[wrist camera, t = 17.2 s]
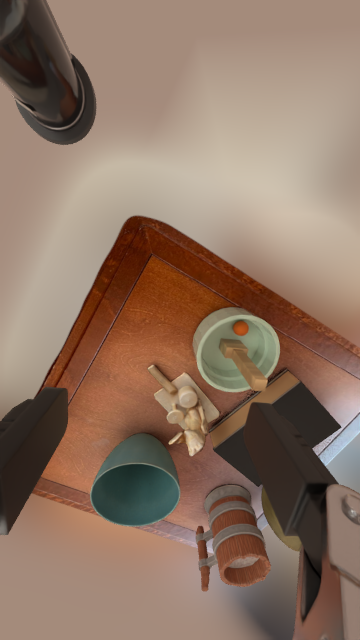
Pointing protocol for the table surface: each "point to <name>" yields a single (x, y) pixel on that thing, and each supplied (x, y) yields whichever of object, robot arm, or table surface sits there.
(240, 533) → the mug
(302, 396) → the book
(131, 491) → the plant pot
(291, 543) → the fruit
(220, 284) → the table surface
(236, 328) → the ball
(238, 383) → the bowl
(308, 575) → the robot arm
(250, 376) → the stick
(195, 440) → the wooden toy
